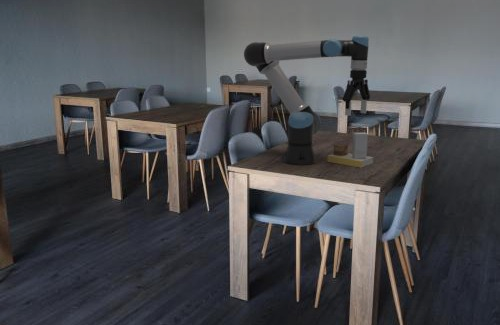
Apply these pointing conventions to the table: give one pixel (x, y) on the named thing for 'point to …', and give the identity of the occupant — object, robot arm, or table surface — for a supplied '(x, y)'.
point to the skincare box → (359, 145)
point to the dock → (350, 160)
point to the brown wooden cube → (340, 149)
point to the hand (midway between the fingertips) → (355, 114)
